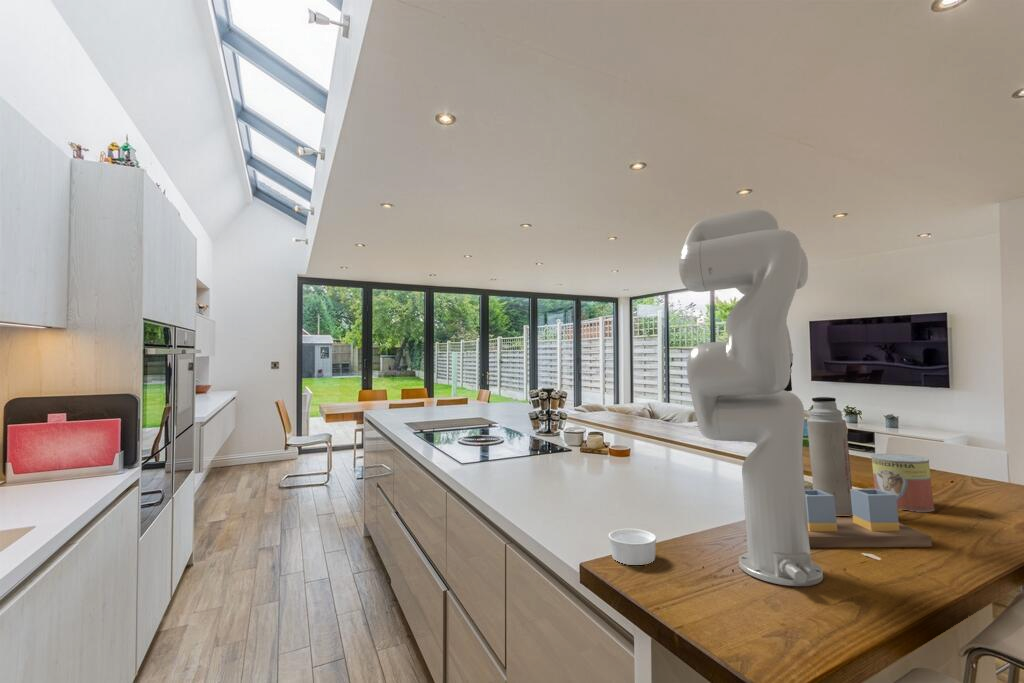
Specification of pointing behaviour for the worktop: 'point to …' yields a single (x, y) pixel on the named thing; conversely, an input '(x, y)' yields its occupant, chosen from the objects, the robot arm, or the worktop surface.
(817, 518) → the seated sleeve
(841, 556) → the worktop surface
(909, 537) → the pin board
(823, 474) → the thermos bottle
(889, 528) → the slate sleeve
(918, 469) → the canned food
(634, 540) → the ramekin
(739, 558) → the robot arm
